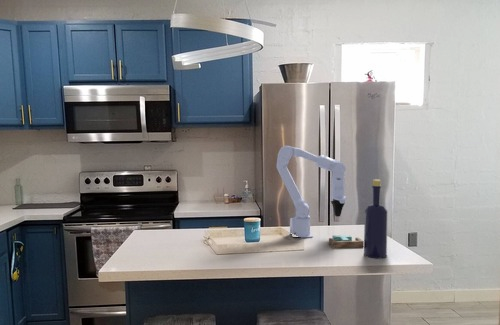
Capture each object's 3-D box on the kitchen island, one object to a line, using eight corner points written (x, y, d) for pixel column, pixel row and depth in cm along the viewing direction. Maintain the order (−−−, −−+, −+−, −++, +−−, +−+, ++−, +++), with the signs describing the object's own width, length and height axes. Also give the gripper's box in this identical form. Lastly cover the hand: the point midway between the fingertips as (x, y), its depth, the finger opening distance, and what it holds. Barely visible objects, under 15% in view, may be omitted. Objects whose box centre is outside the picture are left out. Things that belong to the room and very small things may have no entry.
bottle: (384, 251, 151) (385, 178, 149) (390, 258, 142) (392, 181, 140) (361, 251, 152) (362, 178, 150) (365, 258, 143) (367, 181, 141)
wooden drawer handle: (333, 247, 157) (333, 242, 156) (328, 243, 163) (328, 238, 163) (363, 247, 158) (363, 241, 158) (357, 243, 164) (358, 237, 164)
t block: (336, 246, 158) (336, 240, 158) (332, 242, 166) (332, 235, 166) (355, 246, 159) (355, 239, 158) (350, 241, 166) (350, 235, 166)
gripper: (351, 189, 166) (351, 219, 167) (341, 185, 181) (341, 213, 181) (336, 189, 166) (335, 219, 167) (327, 185, 180) (327, 213, 181)
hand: (337, 216), depth 174 cm, fingers closed
